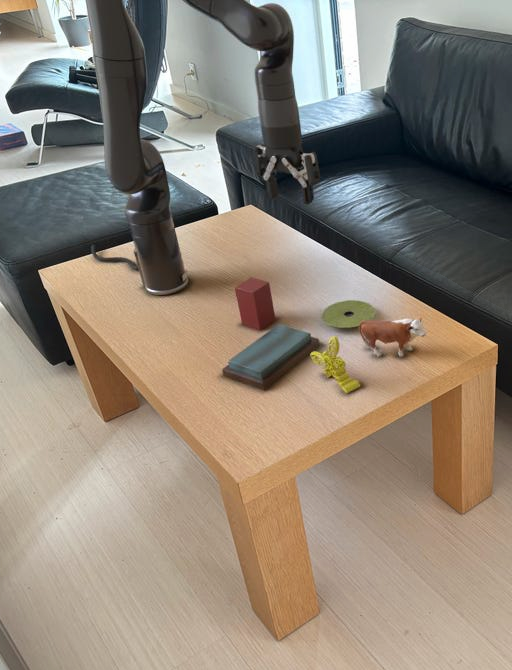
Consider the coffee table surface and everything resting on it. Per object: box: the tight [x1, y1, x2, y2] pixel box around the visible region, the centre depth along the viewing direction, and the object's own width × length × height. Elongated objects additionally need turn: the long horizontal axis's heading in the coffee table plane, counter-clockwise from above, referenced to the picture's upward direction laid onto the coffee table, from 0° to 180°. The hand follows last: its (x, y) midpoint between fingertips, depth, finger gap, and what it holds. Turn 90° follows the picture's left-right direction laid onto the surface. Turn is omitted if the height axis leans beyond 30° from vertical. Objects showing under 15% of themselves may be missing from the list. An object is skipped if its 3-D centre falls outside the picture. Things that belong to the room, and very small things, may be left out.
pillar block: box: [234, 276, 276, 331], centre depth 153 cm, size 5×5×9 cm
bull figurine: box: [358, 317, 427, 358], centre depth 142 cm, size 4×13×8 cm, turn 78°
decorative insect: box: [309, 335, 361, 394], centre depth 135 cm, size 13×3×10 cm
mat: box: [321, 299, 376, 329], centre depth 154 cm, size 11×11×2 cm
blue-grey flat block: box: [221, 323, 320, 391], centre depth 142 cm, size 10×17×3 cm, turn 151°
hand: (291, 200), depth 150 cm, fingers open, 8 cm apart
